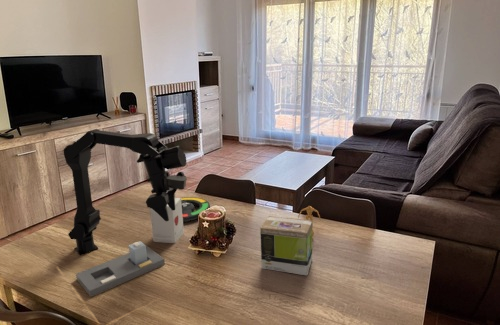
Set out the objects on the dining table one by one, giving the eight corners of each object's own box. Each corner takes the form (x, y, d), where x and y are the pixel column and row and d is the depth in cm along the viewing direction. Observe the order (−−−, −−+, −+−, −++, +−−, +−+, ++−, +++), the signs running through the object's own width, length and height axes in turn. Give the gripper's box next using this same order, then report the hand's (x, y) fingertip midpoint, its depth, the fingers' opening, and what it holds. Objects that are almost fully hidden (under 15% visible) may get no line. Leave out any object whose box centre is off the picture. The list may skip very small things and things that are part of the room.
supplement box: (175, 244, 132) (172, 207, 128) (153, 242, 134) (148, 205, 130) (184, 233, 141) (181, 197, 136) (163, 231, 142) (159, 196, 138)
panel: (77, 280, 112) (75, 272, 111) (147, 252, 127) (146, 245, 127) (90, 298, 103) (89, 290, 103) (164, 265, 119) (164, 258, 118)
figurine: (296, 239, 134) (296, 209, 130) (298, 231, 139) (299, 203, 136) (319, 241, 132) (320, 211, 128) (320, 233, 137) (321, 204, 134)
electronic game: (201, 200, 174) (201, 190, 173) (217, 218, 154) (216, 207, 153) (154, 208, 165) (152, 199, 164) (163, 229, 145) (162, 218, 144)
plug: (131, 264, 119) (128, 243, 117) (142, 259, 122) (139, 239, 120) (136, 269, 116) (133, 248, 114) (147, 264, 119) (145, 243, 117)
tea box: (312, 260, 120) (313, 219, 116) (307, 277, 111) (307, 233, 106) (269, 253, 125) (268, 214, 120) (260, 269, 115) (259, 227, 111)
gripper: (173, 174, 107) (188, 221, 111) (185, 159, 126) (198, 200, 129) (138, 182, 108) (154, 229, 112) (155, 166, 126) (168, 207, 130)
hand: (170, 215), depth 121 cm, fingers open, 9 cm apart
